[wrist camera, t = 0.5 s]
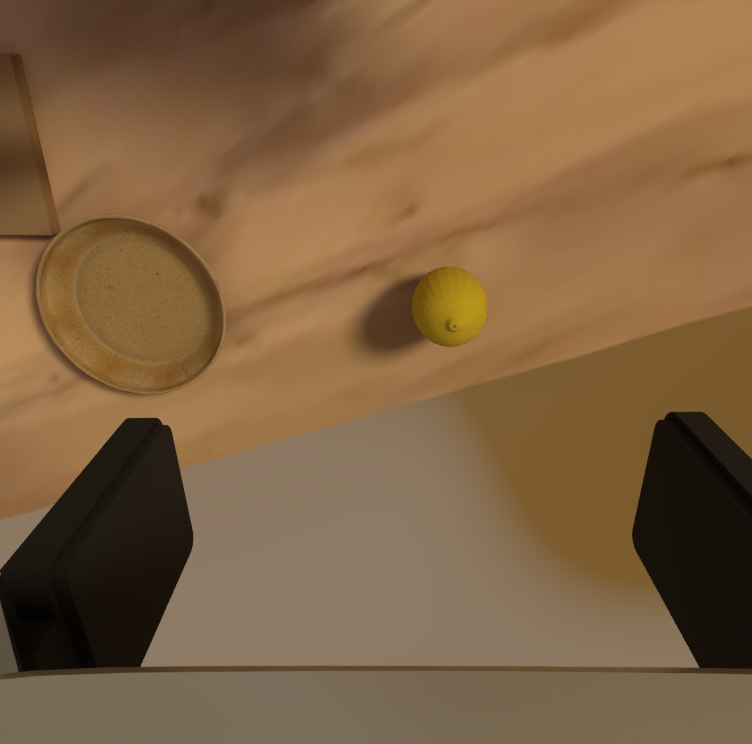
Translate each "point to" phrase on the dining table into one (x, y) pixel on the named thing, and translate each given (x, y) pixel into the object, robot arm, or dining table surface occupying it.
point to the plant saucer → (130, 304)
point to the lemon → (449, 306)
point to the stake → (21, 159)
